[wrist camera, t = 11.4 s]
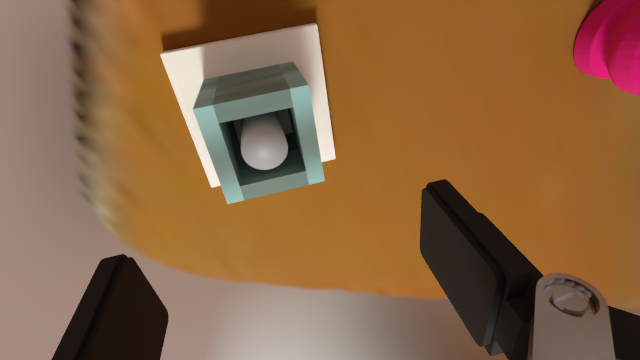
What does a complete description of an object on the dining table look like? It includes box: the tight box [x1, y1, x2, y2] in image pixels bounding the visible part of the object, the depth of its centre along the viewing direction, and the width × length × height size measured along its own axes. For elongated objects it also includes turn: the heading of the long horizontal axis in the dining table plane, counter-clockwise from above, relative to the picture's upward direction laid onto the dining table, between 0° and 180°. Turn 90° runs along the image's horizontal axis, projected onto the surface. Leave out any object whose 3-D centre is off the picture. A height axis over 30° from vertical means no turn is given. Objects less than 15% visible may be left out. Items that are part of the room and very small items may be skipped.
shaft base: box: [160, 23, 336, 188], centre depth 22 cm, size 10×10×7 cm
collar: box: [193, 62, 325, 204], centre depth 21 cm, size 6×6×6 cm
